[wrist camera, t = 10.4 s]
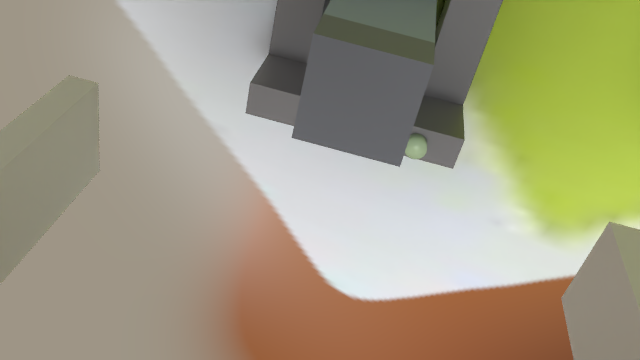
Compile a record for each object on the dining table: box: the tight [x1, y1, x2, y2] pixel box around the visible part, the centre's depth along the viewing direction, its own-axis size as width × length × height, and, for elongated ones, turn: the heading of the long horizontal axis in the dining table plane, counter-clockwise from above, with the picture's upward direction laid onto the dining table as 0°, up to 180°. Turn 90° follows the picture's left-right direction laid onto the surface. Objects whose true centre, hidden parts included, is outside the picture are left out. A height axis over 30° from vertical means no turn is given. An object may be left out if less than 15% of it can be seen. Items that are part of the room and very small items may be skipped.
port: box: [246, 0, 503, 168], centre depth 28 cm, size 10×10×7 cm
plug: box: [292, 0, 437, 167], centre depth 26 cm, size 4×4×12 cm
